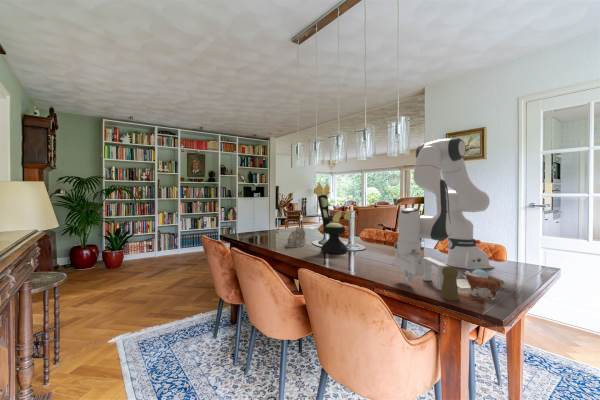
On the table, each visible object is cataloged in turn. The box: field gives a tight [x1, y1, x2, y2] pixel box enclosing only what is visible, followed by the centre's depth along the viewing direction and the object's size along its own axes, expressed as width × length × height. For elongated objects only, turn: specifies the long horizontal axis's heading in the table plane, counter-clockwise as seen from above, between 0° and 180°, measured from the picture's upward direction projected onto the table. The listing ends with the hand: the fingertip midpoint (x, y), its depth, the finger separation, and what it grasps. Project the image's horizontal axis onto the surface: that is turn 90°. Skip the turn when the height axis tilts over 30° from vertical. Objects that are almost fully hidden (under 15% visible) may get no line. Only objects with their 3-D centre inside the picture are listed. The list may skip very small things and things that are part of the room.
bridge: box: [422, 256, 449, 291], centre depth 127 cm, size 3×15×10 cm, turn 3°
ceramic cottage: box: [285, 224, 307, 249], centre depth 218 cm, size 16×16×15 cm
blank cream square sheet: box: [456, 278, 471, 290], centre depth 128 cm, size 12×12×1 cm
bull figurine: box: [462, 270, 500, 301], centre depth 114 cm, size 4×13×8 cm, turn 32°
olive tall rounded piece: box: [440, 266, 460, 301], centre depth 112 cm, size 6×6×11 cm
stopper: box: [487, 273, 505, 290], centre depth 129 cm, size 2×14×3 cm, turn 4°
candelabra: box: [314, 181, 353, 255], centre depth 194 cm, size 19×22×45 cm
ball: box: [471, 269, 489, 278], centre depth 128 cm, size 6×6×6 cm
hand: (408, 280), depth 127 cm, fingers closed
